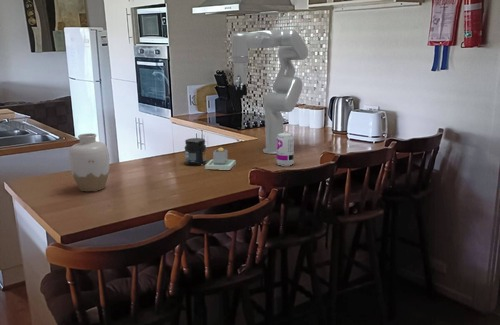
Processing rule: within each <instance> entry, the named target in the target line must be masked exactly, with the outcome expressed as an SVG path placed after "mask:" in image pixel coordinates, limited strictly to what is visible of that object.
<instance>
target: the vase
mask: <svg viewBox="0 0 500 325" xmlns="http://www.w3.org/2000/svg"><path fill="white" fill-rule="evenodd" d="M77 138H78V140H79V142H78V143H75V144H73V145H72V146H71V147H70V148H69V152H68V163H69V166H70V171H71V174H72V178H73V179H74V181H75V183H76V185H77V187H78V188H79V190H80V191H81V190H82V191H81V192H83V191H95V192H99V191H98V190H100V191H102V190H104V189H105V187H106V185H107V181H108V178H109V172H110V165H111V163H110V160H111V158H110V152H109V149H108V146H107V145H106V144H105V143H104V142H101V141H97V140H96V138H97V134H96V133H82V134H78V135H77ZM103 188H104V189H103ZM101 189H102V190H101Z"/></svg>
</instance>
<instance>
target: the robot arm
mask: <svg viewBox="0 0 500 325" xmlns="http://www.w3.org/2000/svg"><path fill="white" fill-rule="evenodd" d="M276 47H277V48H278V51H277V56H278V60H279V65H280V67H279V70H278V73H277V75H276V76H275V79H274V82H273V84H272V85H273V86H272V89H273V92H269V93H267V94H265V95H264V97H263V100H262V102H263V103H262V104H263V108H264V116H265V117H264V118H265V120H264V121H265V122H264V123H265V148H263V149H262V152H263V153H264V154H270V155H277V136H278V134H279V133H284V117H283V115H282V113H290V112H293V111H294V109H295V107H296V105H297V103H298V101H299V99H300V96H301V94H302V90H303V81H302V79H301V78H300V77H299V76H295V74H296V67H295V65H294V64H293V61H304V60H306V59H307V57H308V56H309V49H308V46H307V44H306V42H305V40H304V39H303V37H302V36H301V35H300V33H299V32H298V31H297V30H295V29H294V28H290V29H289V28H287V29H284V28H283V29H269V30H268V29H264V30H257V31H251V32H250V31H247V32H238V33H233V34H232V35H231V56H232V64H233V85H234V86H235V97H236V99H243V98H244V96H247V95H248V87H247V86H248V84H247V83H248V68H247V67H248V66H247V65H248V64H249V49H251V50H253V49H264V48H265V49H267V48H276Z"/></svg>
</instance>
